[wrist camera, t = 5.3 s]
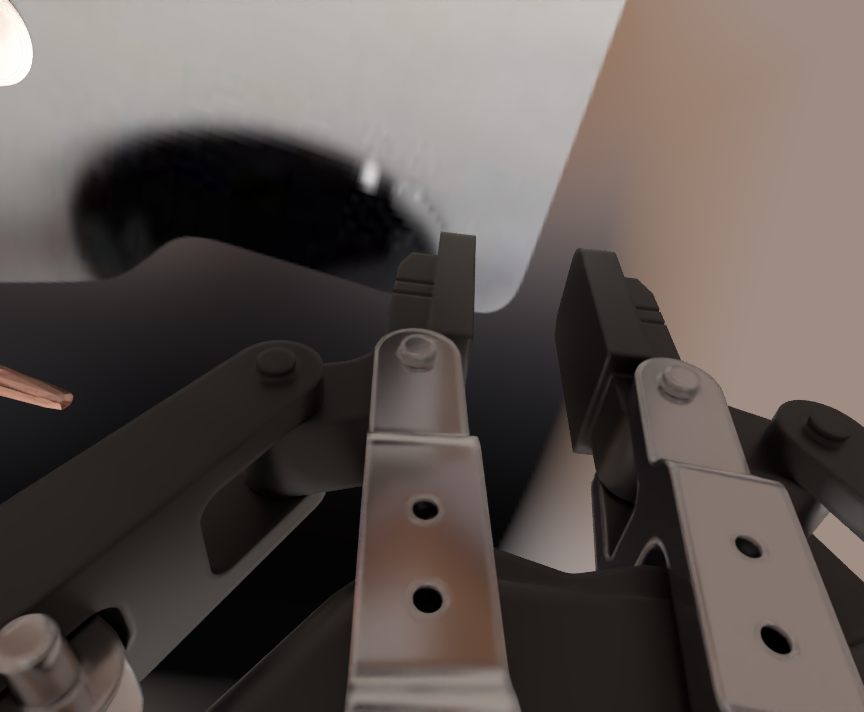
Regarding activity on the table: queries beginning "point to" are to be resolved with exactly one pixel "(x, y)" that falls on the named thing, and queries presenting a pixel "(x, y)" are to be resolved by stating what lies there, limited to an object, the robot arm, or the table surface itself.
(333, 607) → the robot arm
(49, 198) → the table surface
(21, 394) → the anatomical model
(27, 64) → the candle
